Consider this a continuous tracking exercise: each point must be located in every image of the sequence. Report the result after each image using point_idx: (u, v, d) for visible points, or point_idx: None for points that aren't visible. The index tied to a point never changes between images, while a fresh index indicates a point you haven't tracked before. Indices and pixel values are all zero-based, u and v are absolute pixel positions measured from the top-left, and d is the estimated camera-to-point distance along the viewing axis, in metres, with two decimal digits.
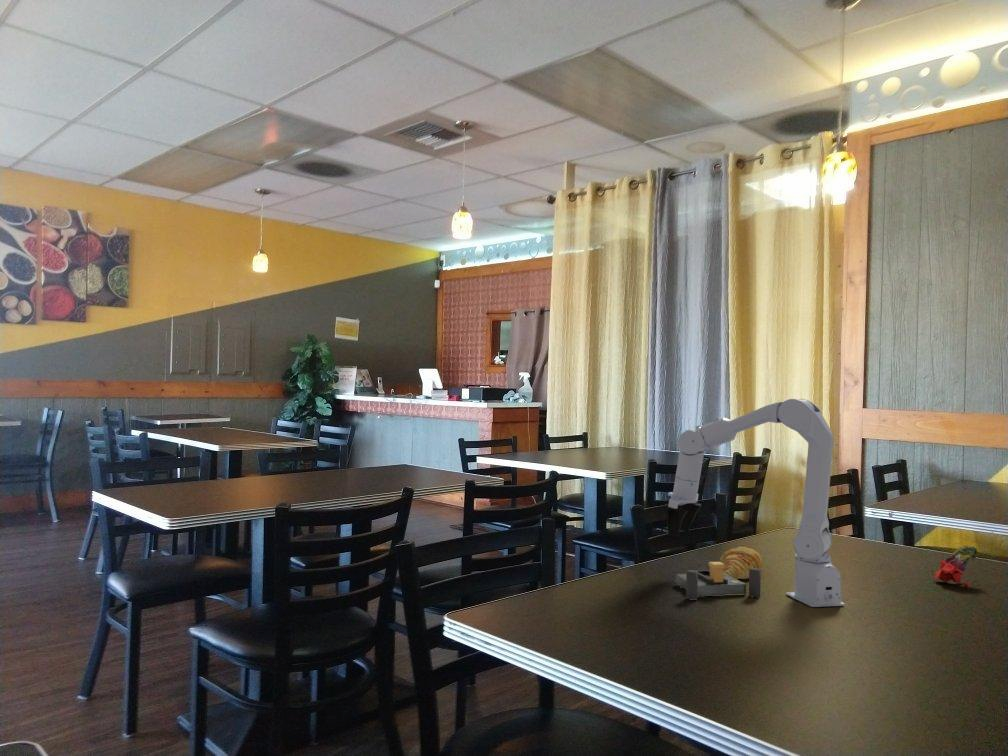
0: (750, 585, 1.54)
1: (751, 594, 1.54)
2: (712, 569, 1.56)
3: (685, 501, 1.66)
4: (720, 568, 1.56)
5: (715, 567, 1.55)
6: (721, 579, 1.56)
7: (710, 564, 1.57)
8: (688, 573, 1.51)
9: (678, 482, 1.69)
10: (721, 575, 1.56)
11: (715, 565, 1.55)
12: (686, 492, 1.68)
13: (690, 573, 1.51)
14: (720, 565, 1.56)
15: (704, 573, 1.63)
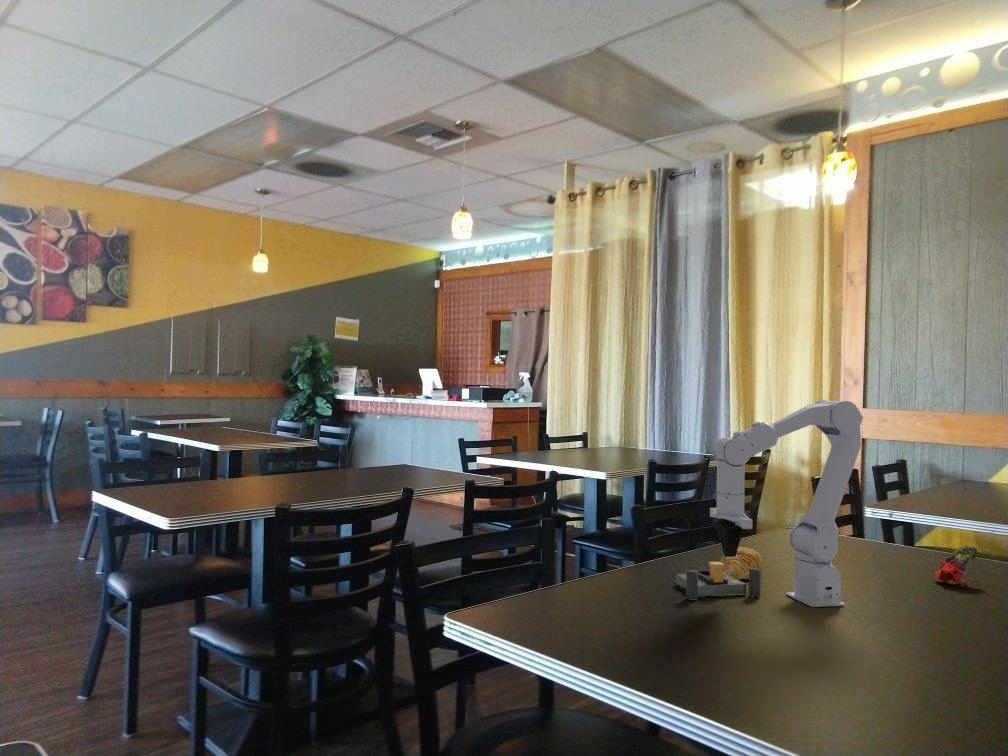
0: (750, 585, 1.54)
1: (751, 594, 1.54)
2: (712, 569, 1.56)
3: (747, 518, 1.48)
4: (720, 568, 1.56)
5: (715, 567, 1.55)
6: (721, 579, 1.56)
7: (710, 564, 1.57)
8: (688, 573, 1.51)
9: (731, 499, 1.49)
10: (721, 575, 1.56)
11: (715, 565, 1.55)
12: (742, 508, 1.49)
13: (690, 573, 1.51)
14: (720, 565, 1.56)
15: (704, 573, 1.63)
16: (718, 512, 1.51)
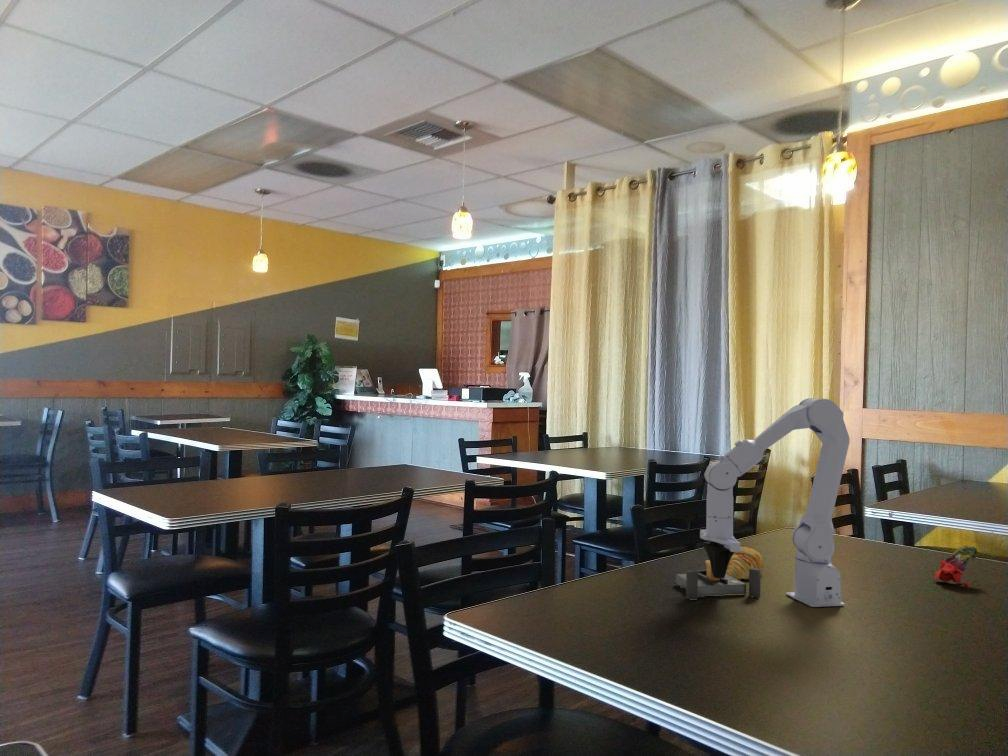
0: (750, 585, 1.54)
1: (751, 594, 1.54)
2: (709, 567, 1.58)
3: None
4: None
5: None
6: None
7: (707, 562, 1.58)
8: (688, 573, 1.51)
9: (720, 522, 1.53)
10: None
11: None
12: (730, 531, 1.53)
13: (690, 573, 1.51)
14: None
15: (704, 573, 1.63)
16: (708, 535, 1.55)
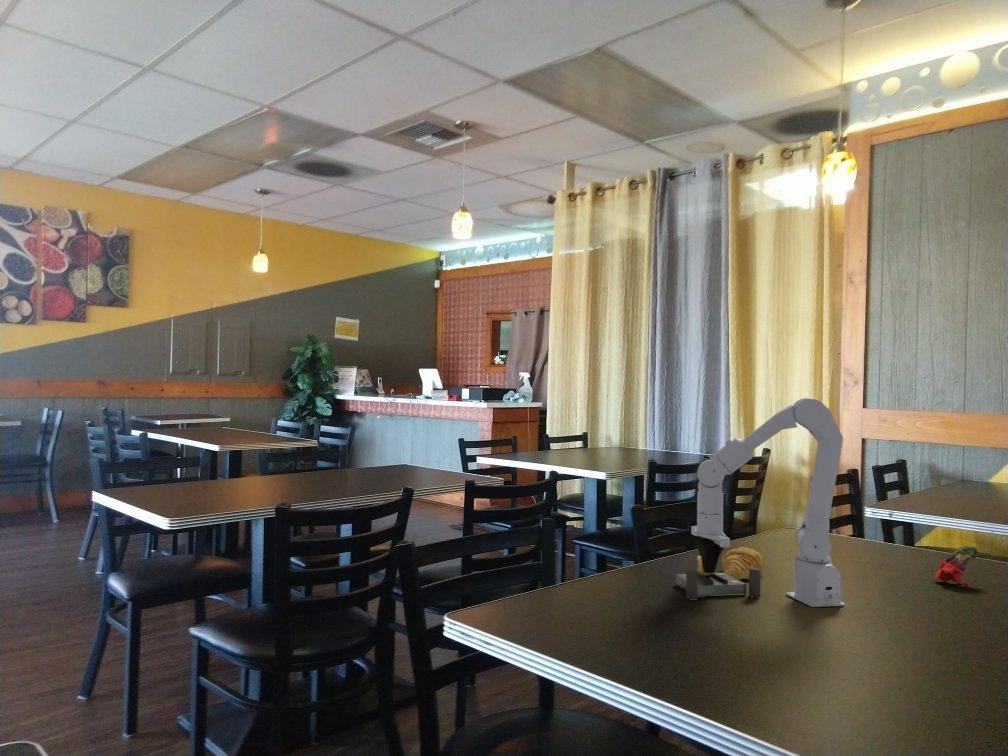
0: (750, 585, 1.54)
1: (751, 594, 1.54)
2: (700, 563, 1.62)
3: None
4: None
5: None
6: None
7: (698, 558, 1.62)
8: (688, 573, 1.51)
9: (711, 518, 1.57)
10: None
11: None
12: (720, 527, 1.58)
13: (690, 573, 1.51)
14: None
15: None
16: (698, 531, 1.59)
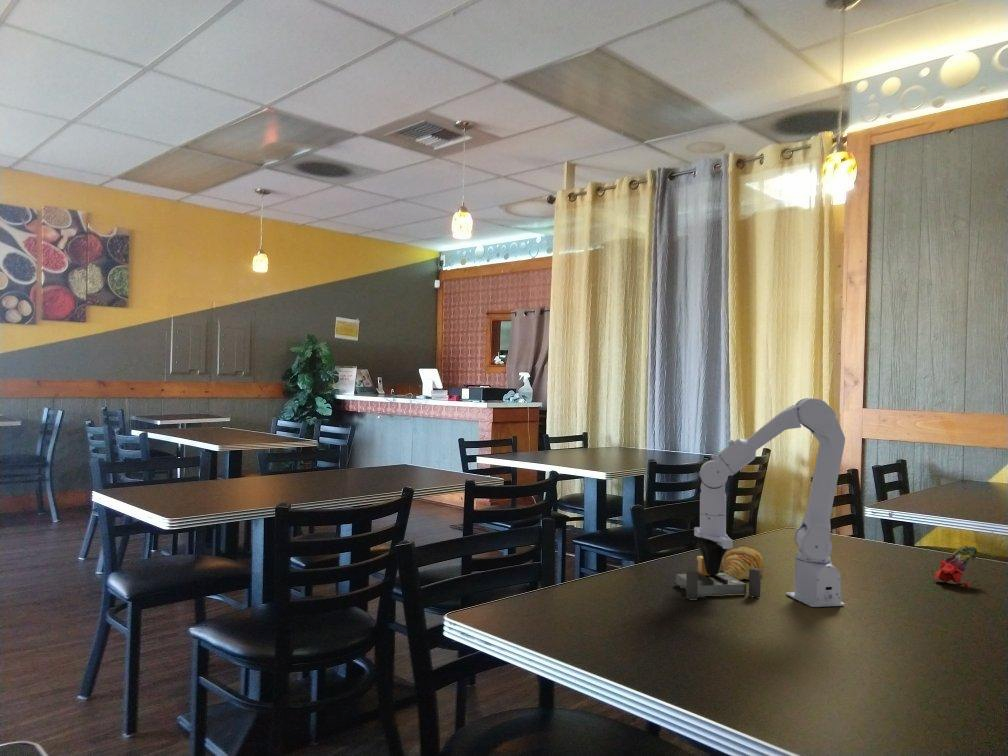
0: (750, 585, 1.54)
1: (751, 594, 1.54)
2: (700, 563, 1.62)
3: (728, 537, 1.55)
4: None
5: (703, 561, 1.61)
6: None
7: (698, 558, 1.62)
8: (688, 573, 1.51)
9: (713, 520, 1.56)
10: None
11: (703, 559, 1.61)
12: (723, 528, 1.57)
13: (690, 573, 1.51)
14: None
15: None
16: (701, 532, 1.58)
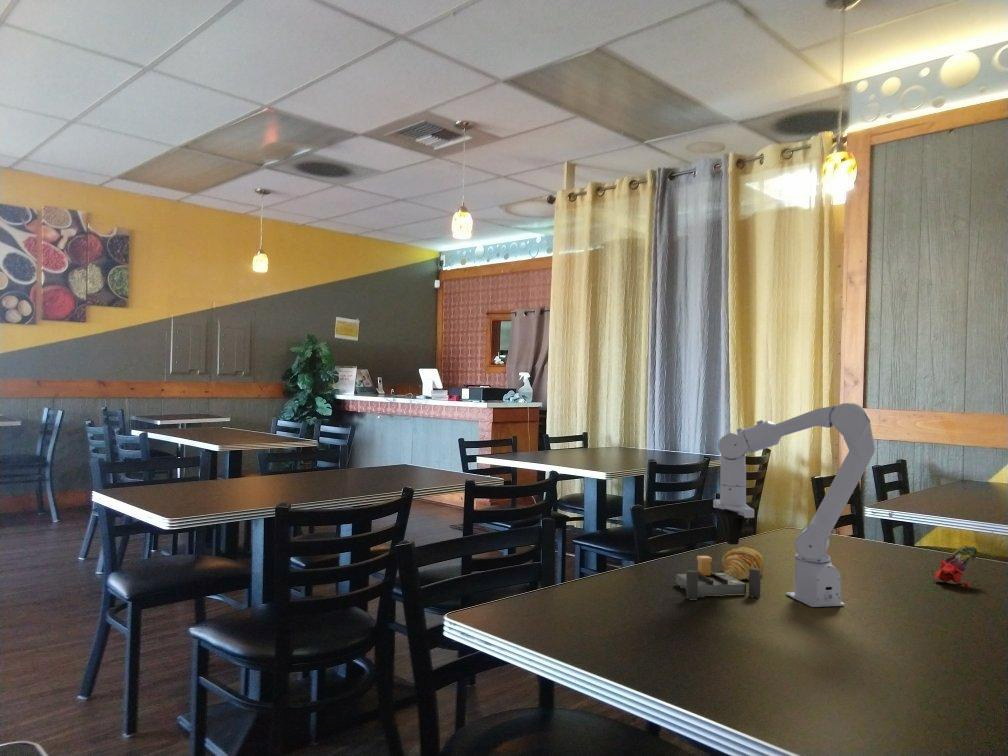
0: (750, 585, 1.54)
1: (751, 594, 1.54)
2: (700, 563, 1.62)
3: None
4: (707, 562, 1.61)
5: (703, 561, 1.61)
6: (708, 572, 1.61)
7: (698, 558, 1.62)
8: (688, 573, 1.51)
9: (734, 490, 1.59)
10: (708, 568, 1.61)
11: (703, 559, 1.61)
12: (744, 498, 1.60)
13: (690, 573, 1.51)
14: (707, 559, 1.61)
15: None
16: (722, 503, 1.61)
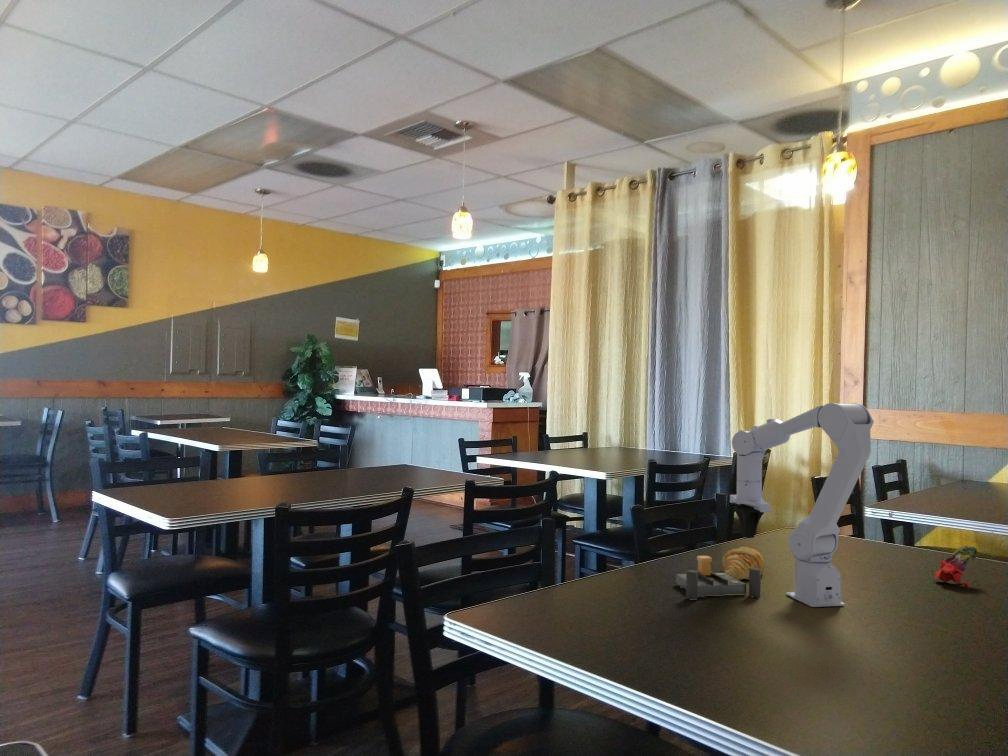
0: (750, 585, 1.54)
1: (751, 594, 1.54)
2: (700, 563, 1.62)
3: None
4: (707, 562, 1.61)
5: (703, 561, 1.61)
6: (708, 572, 1.61)
7: (698, 558, 1.62)
8: (688, 573, 1.51)
9: (750, 486, 1.65)
10: (708, 568, 1.61)
11: (703, 559, 1.61)
12: (759, 494, 1.66)
13: (690, 573, 1.51)
14: (707, 559, 1.61)
15: None
16: (738, 498, 1.67)
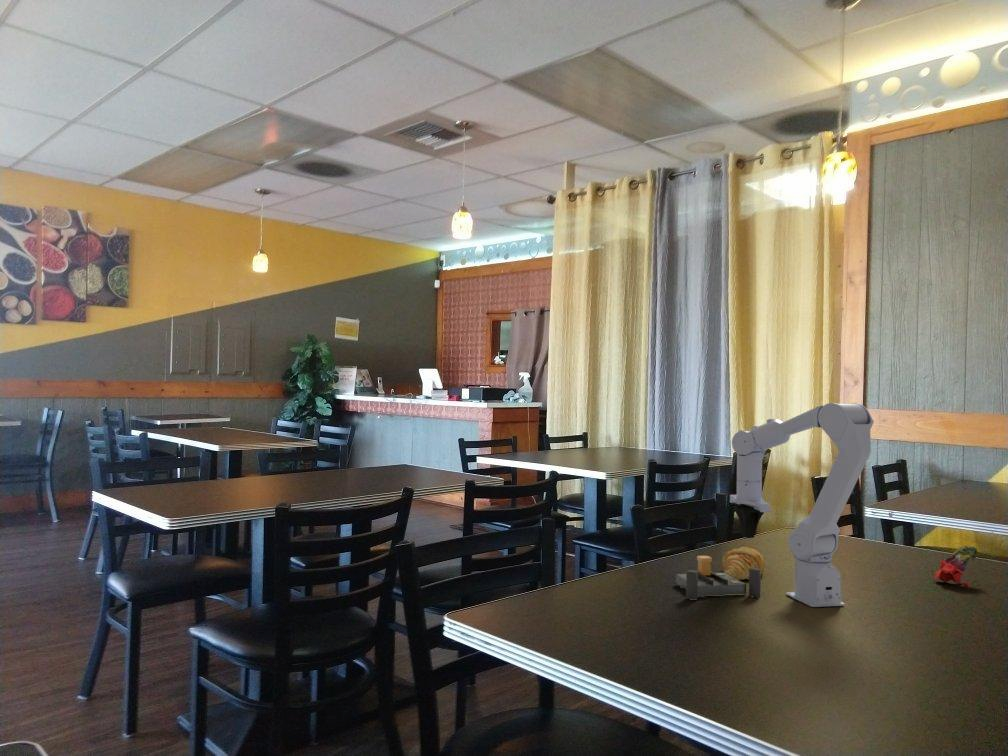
0: (750, 585, 1.54)
1: (751, 594, 1.54)
2: (700, 563, 1.62)
3: None
4: (707, 562, 1.61)
5: (703, 561, 1.61)
6: (708, 572, 1.61)
7: (698, 558, 1.62)
8: (688, 573, 1.51)
9: (750, 486, 1.65)
10: (708, 568, 1.61)
11: (703, 559, 1.61)
12: (759, 494, 1.66)
13: (690, 573, 1.51)
14: (707, 559, 1.61)
15: None
16: (738, 498, 1.67)
